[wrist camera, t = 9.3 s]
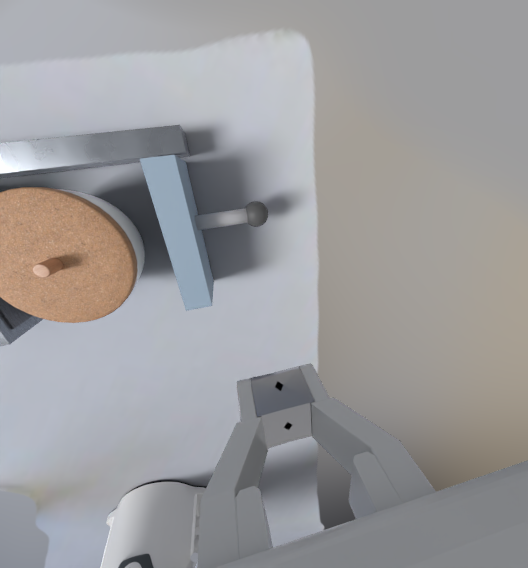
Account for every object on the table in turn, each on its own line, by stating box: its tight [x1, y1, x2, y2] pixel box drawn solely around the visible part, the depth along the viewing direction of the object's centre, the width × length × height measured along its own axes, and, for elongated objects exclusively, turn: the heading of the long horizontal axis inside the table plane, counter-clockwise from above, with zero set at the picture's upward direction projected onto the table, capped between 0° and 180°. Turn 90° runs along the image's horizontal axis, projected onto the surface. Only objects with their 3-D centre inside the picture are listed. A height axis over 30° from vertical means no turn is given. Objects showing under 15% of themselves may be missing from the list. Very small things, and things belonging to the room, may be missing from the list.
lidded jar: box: [0, 187, 145, 323], centre depth 20 cm, size 11×11×9 cm
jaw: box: [140, 155, 268, 311], centre depth 23 cm, size 13×10×6 cm
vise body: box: [0, 125, 190, 346], centre depth 21 cm, size 16×24×6 cm, turn 97°
